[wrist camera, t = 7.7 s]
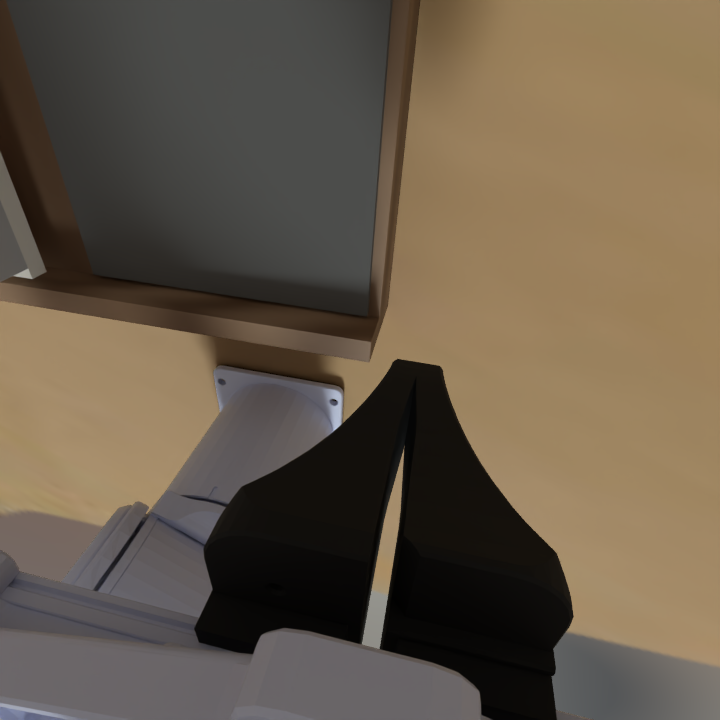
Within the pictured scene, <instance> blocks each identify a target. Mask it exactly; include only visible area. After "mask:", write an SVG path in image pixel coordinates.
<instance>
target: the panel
mask: <svg viewBox="0 0 720 720" xmlns="http://www.w3.org/2000/svg"><path fill="white" fill-rule="evenodd" d="M6 2H7V5H8V8H9V11H10V15H11V18H12V21H13V24H14V27H15V30H16V33H17V36H18V40H19V43H20V46H21V49H22V52H23V55H24V58H25V62H26V65H27V68H28V71H29V74H30V77H31V80H32V83H33V87H34V90H35V93H36V96H37V99H38V102H39V105H40V108H41V112H42V115H43V118H44V121H45V124H46V127H47V130H48V134H49V137H50V140H51V143H52V146H53V149H54V152H55V155H56V159H57V162H58V165H59V168H60V171H61V174H62V177H63V181H64V184H65V187H66V190H67V193H68V196H69V199H70V202H71V206H72V209H73V212H74V215H75V218H76V221H77V224H78V228H79V231H80V234H81V237H82V240H83V243H84V246H85V249H86V253H87V256H88V259H89V262H90V265H91V268H92V271H93V274H94V275H100V276H106V277H113V278H119V279H126V280H132V281H139V282H145V283H152V284H158V285H165V286H171V287H178V288H184V289H191V290H197V291H204V292H210V293H217V294H223V295H230V296H236V297H243V298H249V299H256V300H262V301H269V302H275V303H282V304H288V305H295V306H301V307H308V308H314V309H321V310H327V311H334V312H340V313H347V314H353V315H360V316H366V317H367V315H368V312H369V299H370V286H371V273H372V260H373V247H374V235H375V222H376V209H377V196H378V183H379V170H380V158H381V145H382V132H383V119H384V106H385V93H386V81H387V68H388V55H389V42H390V29H391V17H392V4H393V0H6Z"/></svg>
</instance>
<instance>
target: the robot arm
mask: <svg viewBox="0 0 720 720" xmlns="http://www.w3.org/2000/svg"><path fill="white" fill-rule="evenodd" d="M213 374H214V380H215V386H216V392H217V398H218V403H219V409H220V413H219V415H218V416H217V418H216V419H215V421H214V422H213V424H212V425H211V426H210V428H209V429H208V431H207V432H206V434H205V435H204V437H203V438H202V439H201V441H200V442H199V444H198V445H197V447H196V448H195V450H194V451H193V452H192V454H191V455H190V457H189V458H188V460H187V461H186V463H185V464H184V465H183V467H182V468H181V470H180V471H179V473H178V474H177V475H176V477H175V478H174V480H173V481H172V483H171V484H170V486H169V487H168V488H167V490H166V491H165V493H164V494H163V495H162V496H161V498H160V499H159V500H158V501H157V502H156V504H155V505H154V506H153V507H152V509H151V510H150V511H149V512H148V513H147V514H146V512H147V510H148V509H149V507H148V506H147V505H145V504H143V503H142V502H136V503H134V504H133V506H132V505H127V506H123V507H120V508H118V509H117V510H116V512H115V513H114V514H113V515H112V517H111V518H110V519H109V520H108V522H107V523H106V524H105V526H104V527H103V528H102V529H101V531H100V532H99V533H98V535H97V536H96V537H95V538H94V540H93V541H92V542H91V544H90V545H89V546H88V547H87V549H86V550H85V551H84V553H83V554H82V555H81V557H80V558H79V559H78V560H77V562H76V563H75V564H74V566H73V567H72V568H71V570H70V571H69V572H68V573H67V575H66V576H65V577H64V579H63V580H62V581H61V582H59V581H55V580H51V579H47V578H43V577H40V576H36V575H32V574H28V573H24V572H20V571H19V568H18V566H17V564H16V562H15V561H14V560H13V559H12V558H11V557H10V556H9V555H8V554H7V553H5V552H3V551H2V550H0V720H592V719H588V718H584V717H580V716H576V715H572V714H569V713H565V712H561V711H557V710H556V709H555V701H554V692H553V685H552V677H551V676H553V675H554V674H555V670H556V666H555V659H554V652H553V648H554V647H555V646H556V644H557V643H558V641H559V640H560V639H561V637H562V636H563V635H564V633H565V632H566V631H567V629H568V628H569V626H570V624H571V622H572V619H573V617H574V616H573V610H572V602H571V596H570V592H569V588H568V585H567V582H566V579H565V575H564V572H563V569H562V567H561V564H560V561H559V558H558V556H557V553H556V552H555V551H554V550H553V549H552V548H551V547H550V546H549V545H548V544H547V543H546V542H545V541H544V540H543V539H542V538H541V537H540V536H539V535H538V534H537V533H536V532H535V531H534V530H533V529H532V528H531V527H530V526H529V525H528V524H527V523H526V522H525V521H524V520H523V519H522V517H521V516H520V515H519V514H518V513H517V512H516V511H515V509H514V508H513V507H512V506H511V504H510V503H509V502H508V501H507V499H506V498H505V497H504V495H503V494H502V493H501V491H500V490H499V489H498V487H497V486H496V485H495V484H494V482H493V481H492V479H491V478H490V476H489V475H488V473H487V472H486V470H485V469H484V467H483V466H482V464H481V463H480V461H479V459H478V458H477V456H476V454H475V453H474V451H473V449H472V447H471V445H470V444H469V442H468V440H467V438H466V436H465V434H464V432H463V430H462V427H461V425H460V423H459V421H458V419H457V416H456V413H455V411H454V408H453V406H452V403H451V401H450V398H449V395H448V391H447V388H446V384H445V380H444V376H443V370H442V368H441V367H440V366H437V365H431V364H425V363H419V362H413V361H407V360H401V359H397V360H395V361H394V362H393V363H392V366H391V367H390V369H389V371H388V372H387V374H386V375H385V377H384V378H383V379H382V381H381V382H380V384H379V385H378V386H377V387H376V389H375V390H374V391H373V392H372V393H371V395H370V396H369V397H368V398H367V399H366V400H365V402H364V403H363V404H362V405H361V406H360V407H359V408H358V409H357V410H356V411H355V412H354V413H353V414H352V415H351V416H350V417H349V418H348V419H347V420H346V421H345V422H344V423H343V424H342V419H343V398H344V393H343V390H342V389H341V388H340V387H339V386H336V385H330V384H324V383H319V382H313V381H307V380H302V379H296V378H290V377H285V376H279V375H273V374H268V373H262V372H256V371H251V370H245V369H239V368H234V367H228V366H220V365H219V366H217V367H216V369H215V370H214V372H213ZM222 379H224V380H225V381H223V380H222ZM332 399H335V400H337V401H336V402H335V401H333V400H332ZM404 445H405V448H404ZM403 449H404V464H403V481H402V498H401V513H400V523H399V530H398V536H397V543H396V549H395V556H394V562H393V568H392V575H391V581H390V587H389V594H388V600H387V606H386V613H385V619H384V625H383V632H382V638H381V644H380V649H377V648H373V647H369V646H365V645H362V640H363V634H364V628H365V623H366V617H367V611H368V606H369V600H370V595H371V589H372V584H373V578H374V572H375V567H376V561H377V556H378V550H379V545H380V539H381V534H382V528H383V523H384V518H385V514H386V510H387V506H388V502H389V499H390V495H391V492H392V488H393V485H394V481H395V478H396V474H397V470H398V467H399V463H400V460H401V456H402V453H403Z"/></svg>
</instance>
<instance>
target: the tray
mask: <svg viewBox="0 0 720 720" xmlns="http://www.w3.org/2000/svg"><path fill="white" fill-rule="evenodd" d="M419 6H420V0H393V4H392V17H391V29H390V42H389V55H388V68H387V81H386V93H385V106H384V119H383V132H382V145H381V158H380V170H379V183H378V196H377V209H376V222H375V235H374V247H373V260H372V273H371V286H370V299H369V312H368V315H367V317H366V316H360V315H353V314H347V313H340V312H334V311H327V310H321V309H314V308H308V307H301V306H295V305H288V304H282V303H275V302H269V301H262V300H256V299H249V298H243V297H236V296H230V295H223V294H217V293H210V292H204V291H197V290H191V289H184V288H178V287H171V286H165V285H158V284H152V283H145V282H139V281H132V280H126V279H119V278H113V277H106V276H100V275H94V274H93V271H92V268H91V265H90V262H89V259H88V256H87V253H86V249H85V246H84V243H83V240H82V237H81V234H80V231H79V228H78V224H77V221H76V218H75V215H74V212H73V209H72V206H71V202H70V199H69V196H68V193H67V190H66V187H65V184H64V181H63V177H62V174H61V171H60V168H59V165H58V162H57V159H56V155H55V152H54V149H53V146H52V143H51V140H50V137H49V134H48V130H47V127H46V124H45V121H44V118H43V115H42V112H41V108H40V105H39V102H38V99H37V96H36V93H35V90H34V87H33V83H32V80H31V77H30V74H29V71H28V68H27V65H26V62H25V58H24V55H23V52H22V49H21V46H20V43H19V40H18V36H17V33H16V30H15V27H14V24H13V21H12V18H11V15H10V11H9V8H8V5H7V2H6V0H0V152H1V154H2V157H3V160H4V162H5V165H6V167H7V170H8V173H9V175H10V178H11V180H12V183H13V186H14V188H15V191H16V193H17V196H18V199H19V201H20V204H21V206H22V209H23V212H24V214H25V217H26V219H27V222H28V225H29V227H30V230H31V232H32V235H33V238H34V240H35V243H36V245H37V248H38V251H39V253H40V256H41V258H42V261H43V264H44V266H45V269H46V271H47V272H45V273H43V274H41V275H39V276H38V277H36V278H34V279H29V278H22V277H16V276H12V277H10V278H8V279H6V280H4V281H2V282H0V301H6V302H12V303H18V304H24V305H30V306H36V307H42V308H48V309H54V310H60V311H66V312H72V313H78V314H84V315H90V316H96V317H102V318H108V319H113V320H119V321H125V322H131V323H137V324H143V325H149V326H155V327H161V328H167V329H173V330H179V331H185V332H191V333H197V334H203V335H209V336H215V337H221V338H227V339H233V340H239V341H245V342H251V343H257V344H263V345H269V346H275V347H281V348H287V349H293V350H299V351H305V352H310V353H316V354H322V355H328V356H334V357H340V358H346V359H352V360H358V361H364V362H370V359H371V356H372V353H373V350H374V346H375V343H376V340H377V337H378V334H379V331H380V328H381V325H382V322H383V319H384V316H385V313H386V310H387V307H388V299H389V289H390V280H391V270H392V261H393V251H394V242H395V233H396V223H397V214H398V204H399V195H400V185H401V176H402V167H403V157H404V148H405V138H406V129H407V119H408V110H409V101H410V91H411V82H412V72H413V63H414V53H415V44H416V35H417V25H418V16H419Z"/></svg>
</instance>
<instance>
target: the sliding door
mask: <svg viewBox="0 0 720 720" xmlns="http://www.w3.org/2000/svg"><path fill="white" fill-rule="evenodd" d="M45 272H47V271H46V269H45V266H44V264H43V261H42V258H41V256H40V253H39V251H38V248H37V245H36V243H35V240H34V238H33V235H32V232H31V230H30V227H29V225H28V222H27V219H26V217H25V214H24V212H23V209H22V206H21V204H20V201H19V199H18V196H17V193H16V191H15V188H14V186H13V183H12V180H11V178H10V175H9V173H8V170H7V167H6V165H5V162H4V160H3V157H2V154H1V152H0V282H2V281H4V280H6V279H8V278H10V277H12V276H16V277H22V278H29V279H34V278H36V277H38V276H39V275H41V274H43V273H45Z"/></svg>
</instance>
